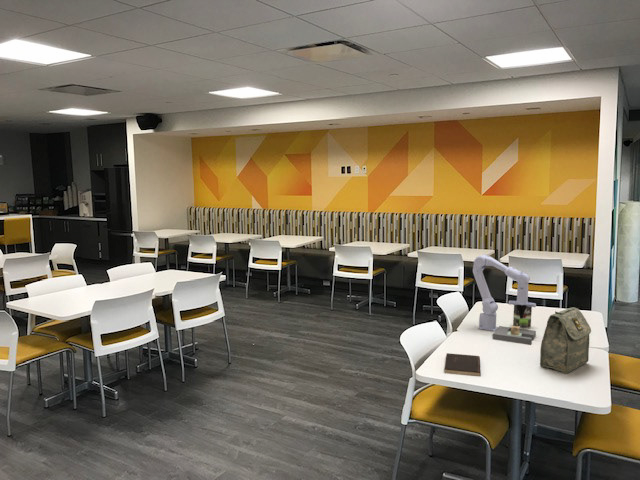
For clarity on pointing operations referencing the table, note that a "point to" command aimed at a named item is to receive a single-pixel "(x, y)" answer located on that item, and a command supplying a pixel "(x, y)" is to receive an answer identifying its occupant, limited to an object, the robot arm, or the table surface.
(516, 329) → the maple block
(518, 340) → the trap board
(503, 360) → the table surface
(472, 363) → the hardcover book
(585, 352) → the bag
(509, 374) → the table surface
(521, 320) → the coffee can
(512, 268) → the robot arm
